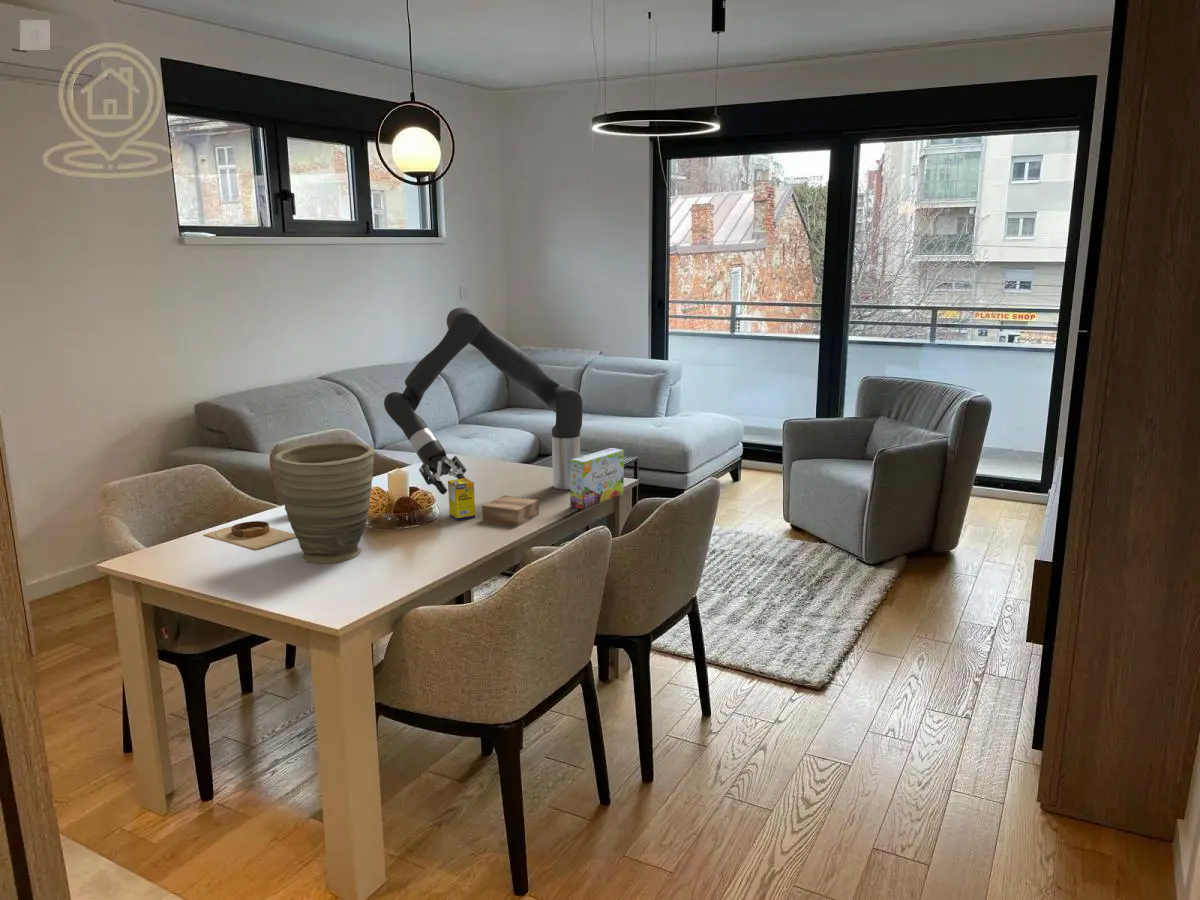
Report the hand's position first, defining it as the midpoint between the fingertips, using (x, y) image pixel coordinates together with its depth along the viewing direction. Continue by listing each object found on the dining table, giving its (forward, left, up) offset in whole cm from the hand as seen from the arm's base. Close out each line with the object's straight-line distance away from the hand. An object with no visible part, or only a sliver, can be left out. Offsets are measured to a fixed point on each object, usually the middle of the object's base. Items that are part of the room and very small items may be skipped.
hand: (455, 489), depth 259 cm
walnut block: (-3, +16, -8) cm, 19 cm away
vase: (+41, -13, -8) cm, 43 cm away
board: (+36, -44, -9) cm, 58 cm away
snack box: (-29, +33, -8) cm, 45 cm away
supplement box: (+1, +2, -8) cm, 8 cm away
